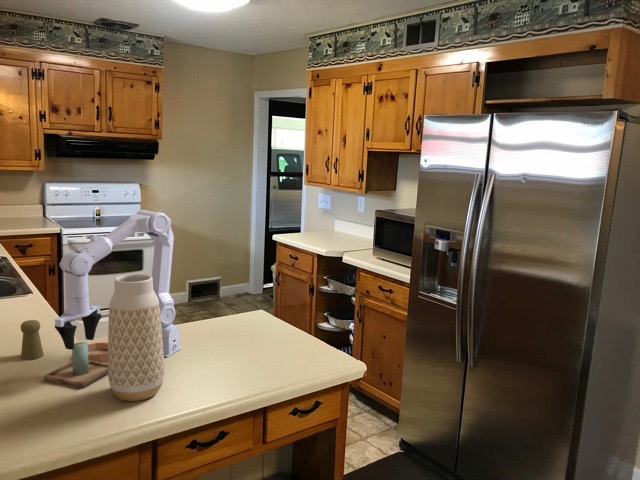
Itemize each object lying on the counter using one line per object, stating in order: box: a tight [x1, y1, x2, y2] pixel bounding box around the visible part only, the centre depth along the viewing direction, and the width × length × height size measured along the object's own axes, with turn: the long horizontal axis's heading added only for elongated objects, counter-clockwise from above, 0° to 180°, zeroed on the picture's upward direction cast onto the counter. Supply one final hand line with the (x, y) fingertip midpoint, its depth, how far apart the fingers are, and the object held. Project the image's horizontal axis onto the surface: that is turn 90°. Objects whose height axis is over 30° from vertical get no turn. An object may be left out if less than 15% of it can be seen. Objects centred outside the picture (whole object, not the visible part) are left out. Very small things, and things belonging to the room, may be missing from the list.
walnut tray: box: [43, 360, 108, 389], centre depth 150 cm, size 13×13×2 cm
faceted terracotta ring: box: [87, 341, 108, 362], centre depth 164 cm, size 11×11×2 cm
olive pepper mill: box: [20, 319, 45, 361], centre depth 161 cm, size 6×6×11 cm
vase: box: [107, 273, 165, 402], centre depth 138 cm, size 14×14×31 cm
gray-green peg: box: [71, 342, 89, 375], centre depth 149 cm, size 4×4×8 cm
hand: (80, 344), depth 149 cm, fingers open, 7 cm apart
